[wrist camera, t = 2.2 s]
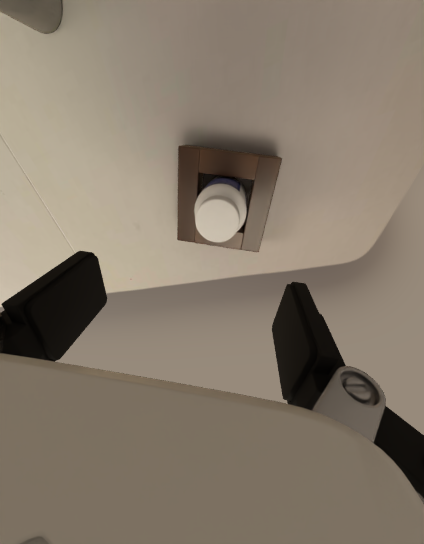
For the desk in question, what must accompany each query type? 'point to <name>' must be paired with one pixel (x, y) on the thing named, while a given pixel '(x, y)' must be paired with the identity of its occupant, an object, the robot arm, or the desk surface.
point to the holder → (231, 165)
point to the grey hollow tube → (34, 13)
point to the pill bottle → (221, 209)
